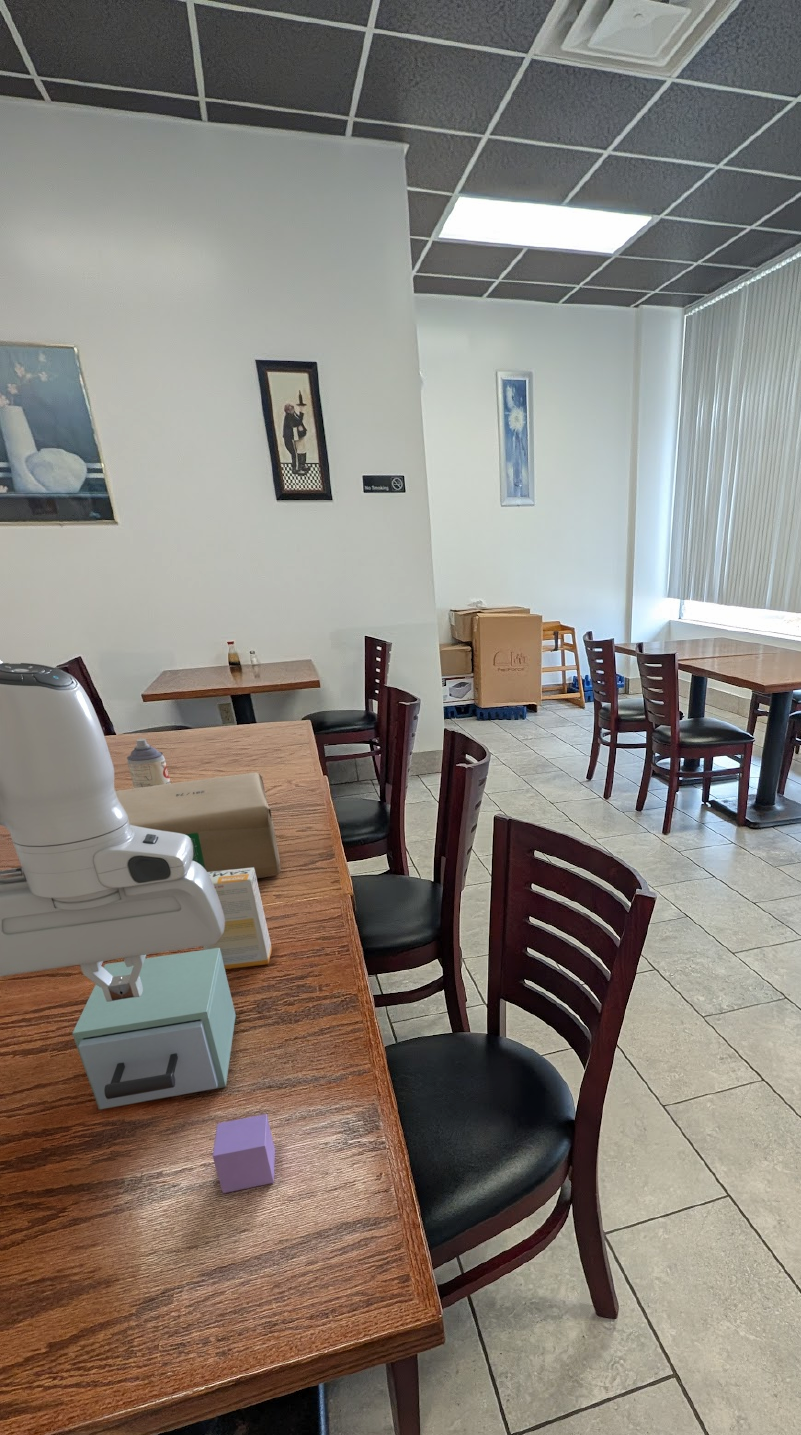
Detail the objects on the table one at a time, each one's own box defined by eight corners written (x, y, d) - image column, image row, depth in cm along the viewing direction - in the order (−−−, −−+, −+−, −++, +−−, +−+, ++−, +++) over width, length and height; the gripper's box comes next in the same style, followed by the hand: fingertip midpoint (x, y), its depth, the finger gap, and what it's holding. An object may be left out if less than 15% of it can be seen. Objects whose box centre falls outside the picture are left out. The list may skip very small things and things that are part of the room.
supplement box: (273, 949, 109) (256, 865, 103) (269, 965, 105) (251, 879, 99) (213, 955, 108) (193, 871, 102) (207, 972, 104) (185, 885, 98)
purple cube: (222, 1193, 67) (212, 1156, 65) (226, 1159, 71) (217, 1123, 69) (273, 1182, 68) (264, 1145, 66) (275, 1149, 72) (266, 1113, 70)
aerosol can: (186, 836, 156) (163, 740, 147) (151, 844, 152) (125, 745, 143) (178, 828, 161) (155, 734, 152) (144, 835, 157) (119, 739, 149)
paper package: (119, 908, 124) (95, 827, 118) (129, 857, 146) (110, 786, 140) (286, 879, 133) (272, 803, 127) (273, 835, 155) (260, 768, 148)
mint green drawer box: (226, 1086, 81) (206, 1011, 77) (99, 1109, 78) (71, 1033, 74) (235, 1015, 94) (219, 947, 90) (126, 1032, 91) (105, 963, 87)
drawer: (212, 1118, 75) (195, 1054, 72) (88, 1141, 73) (64, 1076, 69) (227, 1019, 91) (214, 963, 88) (126, 1036, 89) (108, 979, 85)
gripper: (-70, 891, 60) (-9, 1034, 66) (200, 857, 65) (234, 994, 71) (-39, 863, 66) (15, 998, 72) (208, 834, 70) (238, 963, 76)
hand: (125, 996), depth 71 cm, fingers closed
